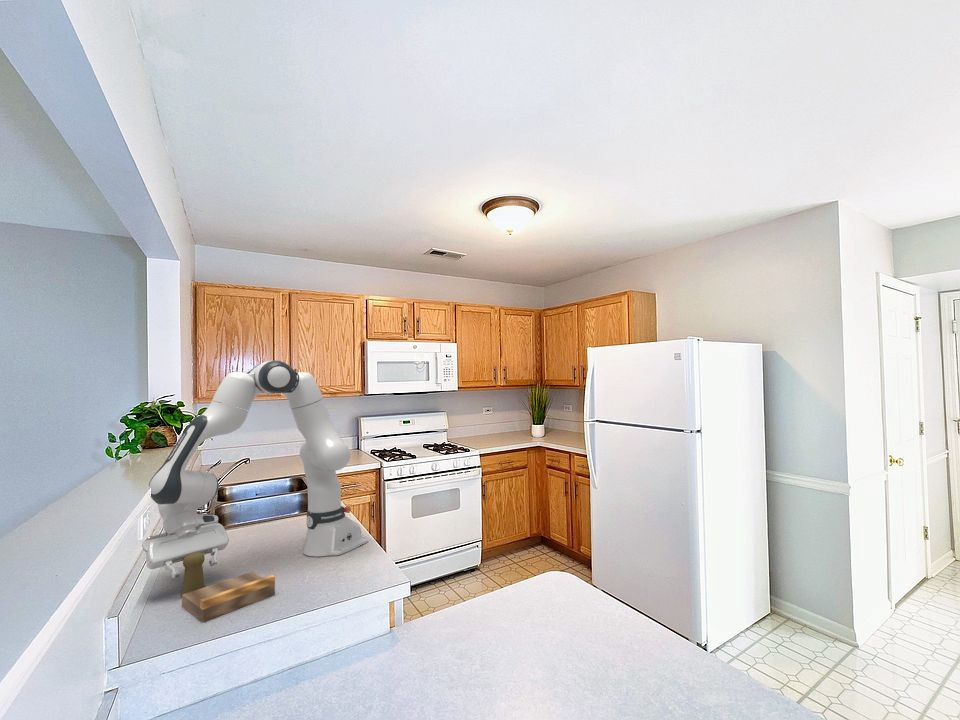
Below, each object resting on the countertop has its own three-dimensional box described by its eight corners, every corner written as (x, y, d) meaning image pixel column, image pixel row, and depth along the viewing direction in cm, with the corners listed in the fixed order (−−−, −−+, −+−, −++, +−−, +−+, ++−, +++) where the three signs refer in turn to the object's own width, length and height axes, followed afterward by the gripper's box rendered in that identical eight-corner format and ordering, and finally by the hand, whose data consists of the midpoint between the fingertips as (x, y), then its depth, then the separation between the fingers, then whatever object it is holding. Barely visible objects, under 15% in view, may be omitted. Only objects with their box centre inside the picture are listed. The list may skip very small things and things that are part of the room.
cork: (193, 599, 122) (194, 558, 123) (175, 598, 123) (175, 557, 124) (211, 589, 128) (211, 550, 129) (193, 588, 129) (193, 549, 130)
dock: (251, 582, 132) (251, 564, 133) (274, 594, 124) (274, 576, 124) (181, 606, 118) (182, 586, 119) (202, 622, 109) (202, 601, 110)
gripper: (143, 532, 123) (154, 577, 117) (222, 514, 139) (236, 553, 132) (138, 545, 126) (148, 590, 119) (216, 526, 142) (230, 565, 135)
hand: (195, 570), depth 126 cm, fingers open, 8 cm apart
